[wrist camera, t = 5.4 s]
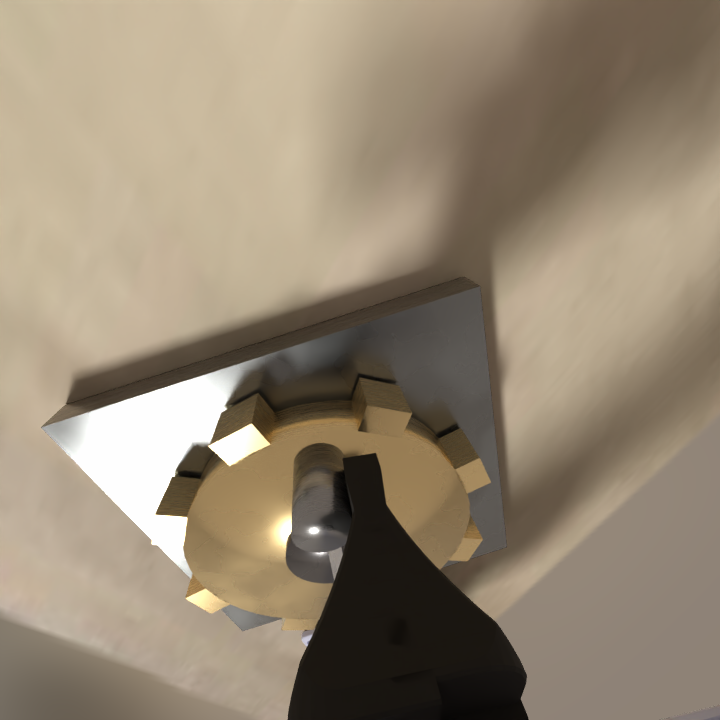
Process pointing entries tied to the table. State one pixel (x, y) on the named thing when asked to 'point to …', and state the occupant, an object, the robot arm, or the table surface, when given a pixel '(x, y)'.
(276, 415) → the blocky toothed spur gear
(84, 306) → the table surface
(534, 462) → the table surface
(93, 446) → the cap plate
